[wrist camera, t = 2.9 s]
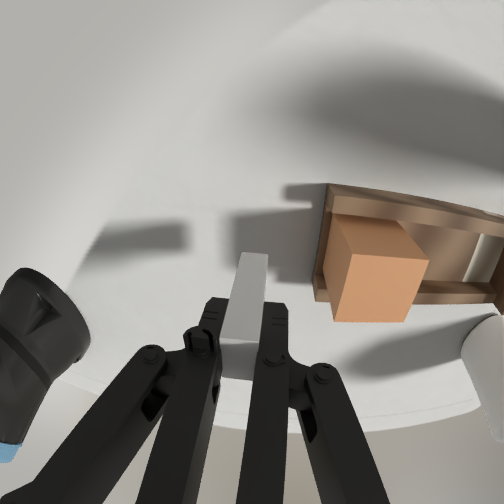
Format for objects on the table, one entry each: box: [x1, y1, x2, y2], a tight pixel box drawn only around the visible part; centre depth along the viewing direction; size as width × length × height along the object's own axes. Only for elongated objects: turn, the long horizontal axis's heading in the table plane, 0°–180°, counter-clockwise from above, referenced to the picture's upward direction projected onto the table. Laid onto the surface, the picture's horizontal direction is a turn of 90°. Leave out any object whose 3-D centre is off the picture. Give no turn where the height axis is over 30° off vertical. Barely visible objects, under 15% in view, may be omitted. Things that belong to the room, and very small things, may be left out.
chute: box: [312, 183, 504, 315], centre depth 18 cm, size 21×8×5 cm, turn 88°
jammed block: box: [323, 213, 429, 322], centre depth 17 cm, size 5×5×6 cm
